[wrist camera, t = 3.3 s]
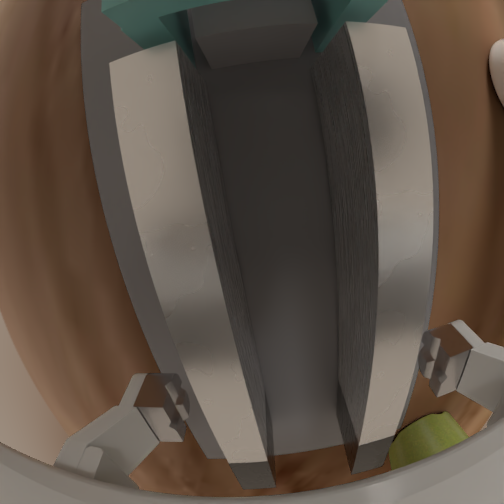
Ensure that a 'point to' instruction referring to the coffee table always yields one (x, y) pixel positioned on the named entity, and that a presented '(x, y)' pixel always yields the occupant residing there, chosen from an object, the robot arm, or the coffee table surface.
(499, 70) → the white cup
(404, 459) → the plant pot
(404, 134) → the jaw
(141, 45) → the collar
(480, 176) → the coffee table surface
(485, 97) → the coffee table surface
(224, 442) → the jaw
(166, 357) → the plate
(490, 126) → the coffee table surface
